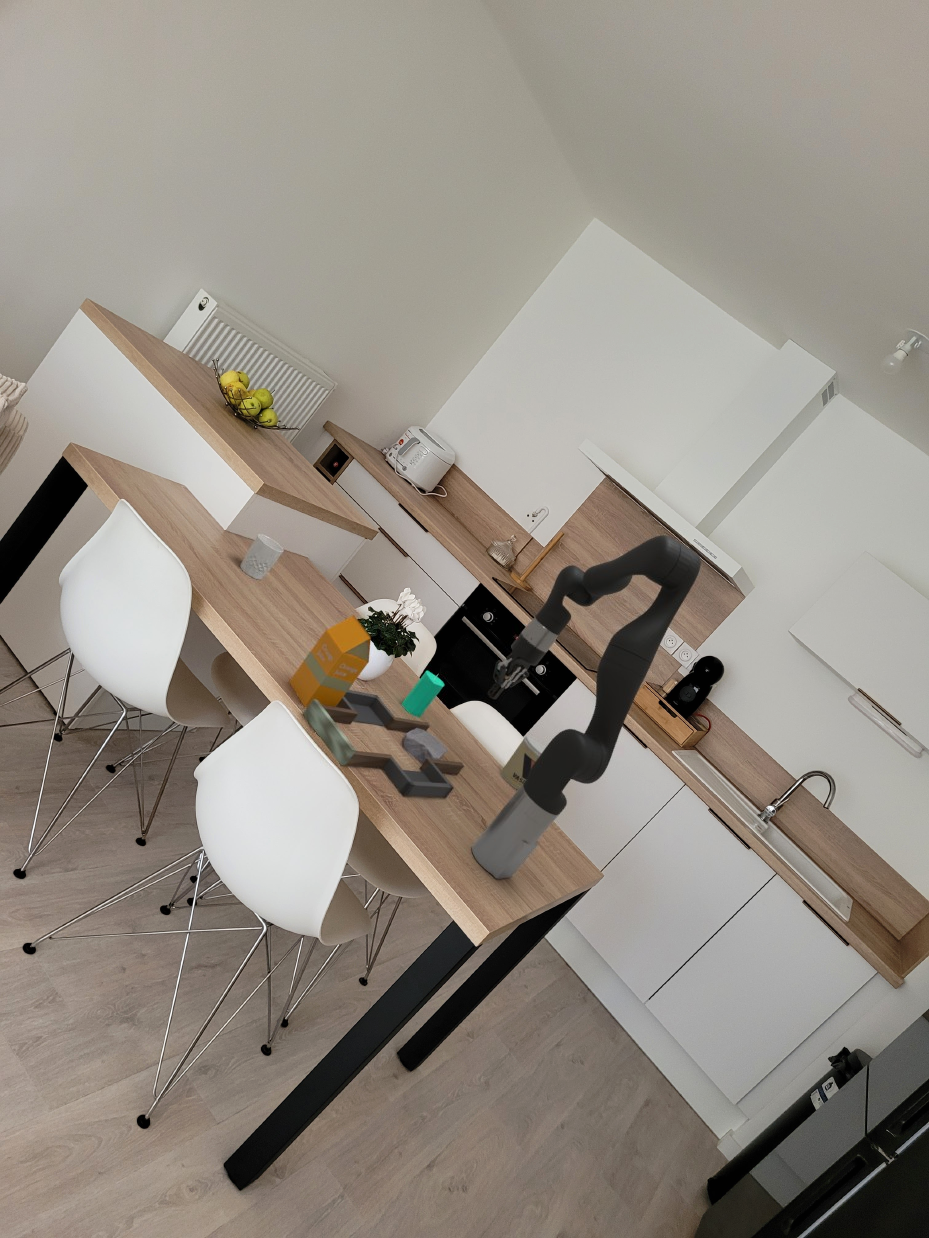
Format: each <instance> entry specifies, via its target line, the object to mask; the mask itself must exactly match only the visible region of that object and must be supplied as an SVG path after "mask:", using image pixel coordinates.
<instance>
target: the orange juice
mask: <svg viewBox="0 0 929 1238" xmlns="http://www.w3.org/2000/svg"><path fill="white" fill-rule="evenodd" d="M371 639H372V637H371V636H370V634H369V633H368V632H367V631H366V629H365V627H364V626H363V625H362V624H361V623H360V621H359V620H358V619H357V617H356V616H355V615H354V614H353V615H351V616H349V617H348V618H345V619H344V620H342V621H340V622H338V623H336V624H334V625H333V626H331V627H329V628H327V629H325V631H324V632H323V633H322V635H321V637H319V639H318V641H317V642H316V643H315V645H314V646H313V647H312V649H311V650H310V651H309V653H308V654H307V655H306V656H305V658H304V660H303V662H302V663H301V664H300V665H299V667H298V669H297V670H296V671H295V673H294V674H293V675H292V677H291V679H290V680H289V684H290V685H291V687H292V689H293V690H294V692H295V693H296V695H297V697H298V699H299V700H300V702H301V703H302V705H303V707H305V708H307V707H308V706H309V704H310V703H311V702H312V700H313V699H316V700H318V701H319V703H320V704H321V705H326V706H332V707H336V706H337V704H338V703H339V702H340V700H341V699H342V698H343V696H344V695H345V694H346V693H347V691H348V690H351V689H350V688H351V687H352V685H354V683H355V681H356V680H357V679H358V677H359V676H360V675H361V673H362V672H363V670H364V669H365V668H366V667H367V665H368V664H369V662H370V652H371Z"/></svg>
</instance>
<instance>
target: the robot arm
mask: <svg viewBox="0 0 929 1238" xmlns="http://www.w3.org/2000/svg"><path fill="white" fill-rule="evenodd" d="M701 560H702V559H701V557H700V555H699V554H698V553H697V552H696V551H694V550H693V549H692V548H690V547H688V546H686V545H684V544H683V543H682V542H680V541H678V540H676V539H675V538H673V537H671V536H668V535H664V534H663V535H657V536H654V537H651V538H650V539H647V540H646V541H644V542H642V543H641V544H639V545H637V546H636V547H634V548H631V549H630V550H629V551H627V552H624V554H622V555H621V556H619V557H617V558H614V559H613V560H610V561H609V560H608V561H606V562H602V563H600V564H596V565H593V566H590V567H588V568H587V569H586V570H585V571H583V570H582V568H580V567H578V566H576V565H575V564H574V565H568V566H565V567H564V568H563V569H561V570H560V571H559V572H558V575H557V577H556V578H555V581H554V583H553V587H552V589H551V592H550V594H549V595H548V597H547V599H546V602H544V604H543V606H542V607H541V609H540V610H539V611H538V613H537V614H536V615H535V616H534V618H532V620H531V621H529V622H528V624H527V625H526V626H525V627H524V629H523V630H522V631H521V632H520V633H519V635H518V636H517V637H516V639H515V640H514V641H513V643H512V644H511V646H510V647H511V650H512V652H511V653H510V654H509V655H507V656H506V657H505V660H503V661H501V660H500V659H498V660H497V661H496V662H495V665H494V671H493V675H492V678H493V680H494V683H493V685H492V686H491V687H490V689H489V690H488V691H487V693H486V694H487V696H488V697H489V698H490V699H492V700H497V699H498V698H499V696H500V695H501V694H502V692H504V690H505V689H507V688H513V687H515V686H516V685H517V684H520V682H522V681H524V680H525V679H527V678H528V677H529V676H530V673H529V672H528V669H529V668H530V667H531V666H534V667H535V666H537V665H538V664H539V662H540V661H541V660H542V659H543V658H544V656H545V655H546V653H547V652H548V651H549V650H550V649H551V647H552V646H553V645H554V643H555V642H556V640H557V638H558V637H559V635H560V634H561V633H562V632H563V631H564V629H565V628H566V627H567V625H568V624H569V623H570V621H571V619H572V614H571V612H570V611H569V610H568V609H567V608H566V606H565V605H563V603H564V599H565V597H567V598H568V599H569V600H571V601H572V602H573V603H575V604H577V605H578V606H580V607H591V606H592V605H594V604H595V603H596V602H597V601H599V600H600V599H601V598H603V597H605V596H608V595H612V594H616V593H620V592H621V591H623V590H624V589H627V587H628V586H629V585H630V583H631V581H632V580H633V579H632V578H633V577H634V576H644V577H645V578H647V579H648V580H649V581H651V582H653V583H655V584H656V585H658V586H660V587H661V588H660V590H659V592H658V594H657V596H656V597H655V599H654V601H653V602H652V604H651V605H650V606H649V607H648V608H647V610H645V611H644V612H643V613H642V614H641V615H639V616H637V617H636V618H635V619H633V620H631V621H630V622H629V623H627V624H625V625H624V626H623V627H622V628H620V629H618V630H617V631H616V632H615V633H614V634H613V635H612V636H611V638H610V640H609V642H608V643H607V646H606V648H605V651H604V652H603V655H602V657H601V658H600V661H599V663H598V667H597V671H596V683H595V684H596V685H595V695H596V696H595V704H594V710H593V714H592V717H591V720H590V721H589V724H588V725H587V727H586V729H585V732H582V731H580V730H577V729H573V728H567V729H564V730H562V731H559V732H558V733H557V734H556V735H555V736H554V737H553V738H552V739H551V741H550V742H549V743H548V744H547V745H546V746H547V747H546V748H545V749H544V751H543V752H542V754H541V755H540V756H539V758H538V759H537V760H536V762H535V763H534V765H533V766H532V768H531V770H530V772H529V775H528V778H527V780H526V781H525V782H524V784H523V785H522V786H521V787H520V788H519V790H516V793H514V795H513V796H512V797H511V798H510V799H509V800H508V802H507V803H506V804H505V805H504V806H503V808H502V809H501V810H500V811H499V812H498V814H497V815H496V816H495V818H494V819H493V820H492V822H490V823H489V825H488V826H487V827H486V829H485V830H484V831H483V833H482V834H481V835H480V836H479V837H478V838H477V840H476V841H475V842H474V844H472V846H471V852H472V854H473V856H474V858H475V860H476V861H477V862H478V863H479V865H480V866H481V867H482V868H484V869H485V871H487V872H488V873H490V874H491V875H492V876H493V877H494V878H495V879H497V880H499V879H500V880H501V879H507V878H509V879H510V878H512V877H513V876H514V875H515V874H516V873H517V871H518V870H519V869H520V868H521V866H522V865H523V864H524V863H525V862H526V860H527V859H528V858H529V857H530V855H531V854H532V853H533V852H534V850H535V849H537V847H538V846H539V844H540V842H539V841H538V840H539V839H540V838H541V837H542V835H544V833H546V831H547V830H548V828H549V827H550V826H551V825H552V824H553V823H554V821H555V820H556V819H557V818H558V816H560V815H561V813H562V812H563V811H564V809H565V808H566V806H567V804H568V803H567V802H568V800H567V798H566V795H565V794H564V793H563V790H564V789H565V788H566V786H567V785H568V784H569V782H570V781H571V780H573V781H576V782H578V783H581V784H585V785H586V784H587V785H588V784H593V783H594V782H595V783H596V781H598V780H599V779H600V778H601V777H602V776H603V775H604V774H605V771H606V770H607V768H608V765H609V764H610V761H611V758H612V756H613V753H614V751H615V747H616V744H617V742H618V739H619V736H620V734H621V731H622V728H623V725H624V723H625V721H626V718H627V716H628V714H629V711H630V710H631V707H632V705H633V703H634V701H635V698H636V696H637V694H638V692H639V690H640V688H641V686H642V684H643V682H644V680H645V678H646V675H648V672H649V670H650V668H651V666H652V663H653V661H654V659H655V657H656V654H657V652H658V651H659V650H658V649H659V647H660V646H661V643H662V641H663V640H664V637H665V635H666V633H667V631H668V629H669V627H670V625H671V623H672V621H673V620H674V618H675V616H677V615H676V614H677V613H678V611H679V610H680V608H681V606H682V604H683V602H684V601H685V599H686V598H687V596H688V595H689V593H690V591H691V590H692V587H693V586H694V584H695V582H696V580H697V578H698V576H699V574H700V573H699V572H700V569H701V566H702V561H701Z"/></svg>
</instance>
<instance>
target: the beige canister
mask: <svg viewBox="0 0 929 1238" xmlns="http://www.w3.org/2000/svg"><path fill="white" fill-rule="evenodd" d="M546 747H547V745H546V744H545V743H544V742H543V741H541V740H540V739H539V738H537V737H535V736H533V735H530V734H528V735H526V736H524V737H523V739H522V741H521V742H520V744H519V745H518V746H517V748H516V749H515V751H514V752H513V753H512V755H511V756H510V758H509V760H508V761H507V762H506V764H505V765H504V766H503V768H502V769H501V772H500V773H501V776H502V778H503V779H504V780H505V781H506V782H507V784H508V785H510V786H511V787H512V788H514V789H516V791H518V790H519V788H520V787H521V786H522V785H523V784H524V782H525V781H526V780H527V778H528V775H529V772H530V770H531V768H532V766H533V765H534V763H535V762H536V760H537V759H538V758H539V756H540V755H541V754H542V752H543V751H544V749H545V748H546Z"/></svg>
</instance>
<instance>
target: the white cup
mask: <svg viewBox="0 0 929 1238" xmlns="http://www.w3.org/2000/svg"><path fill="white" fill-rule="evenodd" d="M283 553H284V548H283V547H282V546H281V545H280V543H278V542H277V541H276V540H274V539H273V538H271V537H269V536H267V535H265V534H260V533H258V534H257V535H256V537H255V539H254V541H253V542H252V544H251V545H250V548H248V550H247V553H246V554H245V557H244V559H243V560H242V562H241V563H240V565H239V566H240V569H241V571H243V573H245V574H246V575H248V576H249V577H251V578H252V579H254V580H255V579H256V580H260V581H261V580H262V579H263V578H265V576H266V575H267V573H268V572H269V571H270V570H271V568H272V567H273V566H274V564H275V563H276V562H277V561H278V559H279V558H280V557H281V555H282V554H283Z"/></svg>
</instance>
